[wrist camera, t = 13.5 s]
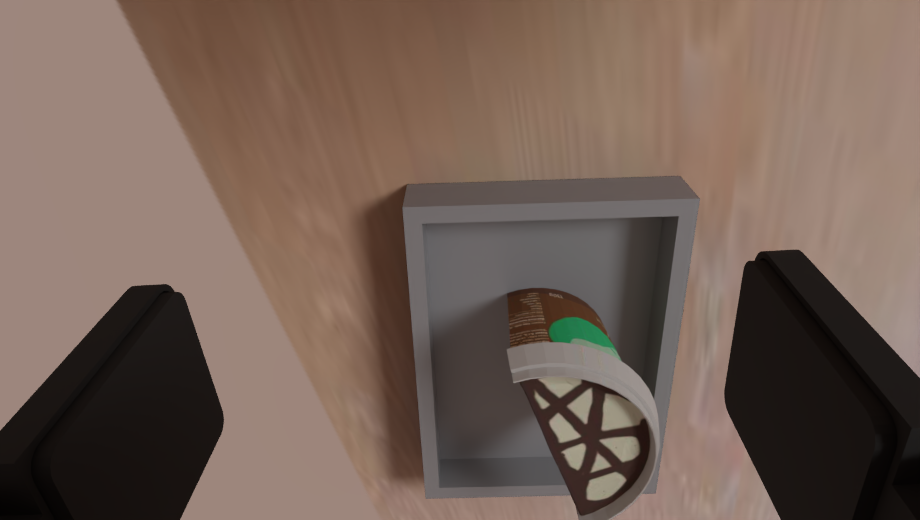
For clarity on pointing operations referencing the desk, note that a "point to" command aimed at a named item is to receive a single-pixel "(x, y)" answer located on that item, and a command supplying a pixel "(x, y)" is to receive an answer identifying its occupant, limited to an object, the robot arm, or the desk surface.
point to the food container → (583, 400)
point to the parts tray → (533, 266)
